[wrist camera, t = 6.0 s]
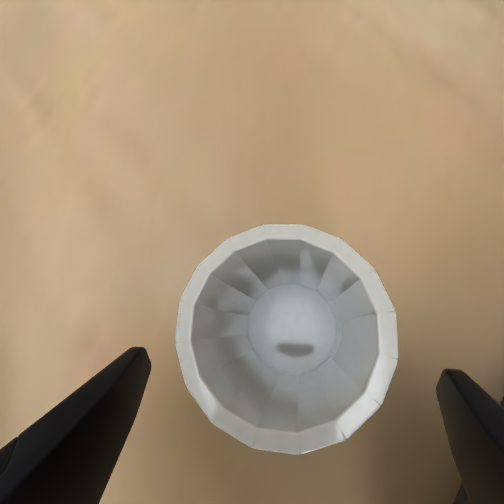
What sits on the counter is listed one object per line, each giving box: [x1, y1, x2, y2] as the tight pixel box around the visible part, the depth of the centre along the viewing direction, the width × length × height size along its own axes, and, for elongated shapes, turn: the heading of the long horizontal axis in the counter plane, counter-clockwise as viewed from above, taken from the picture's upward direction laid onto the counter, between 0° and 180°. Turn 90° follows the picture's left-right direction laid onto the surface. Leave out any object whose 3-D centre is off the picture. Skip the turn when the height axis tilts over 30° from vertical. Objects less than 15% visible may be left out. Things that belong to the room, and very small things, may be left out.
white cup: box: [175, 224, 399, 455], centre depth 13 cm, size 6×6×10 cm
